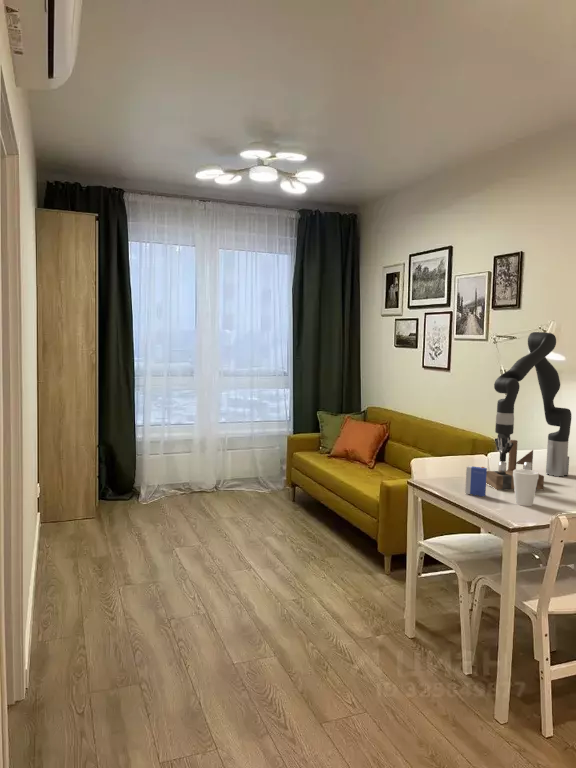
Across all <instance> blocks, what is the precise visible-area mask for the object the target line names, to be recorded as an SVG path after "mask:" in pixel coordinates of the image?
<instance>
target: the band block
mask: <svg viewBox="0 0 576 768" xmlns="http://www.w3.org/2000/svg"><path fill="white" fill-rule="evenodd" d="M544 481H545V476H544V475H543V474H540V473H539V478H538V481H537V486H536V489H543V490H544V487H545V486H544V485H545V484H544ZM486 483H487V484H489V485H491V486H492V487H494V488H495V489H514V478H513V471H507V470H506V475H500V474H498V470H487V475H486ZM492 487H491V488H492ZM494 488H493V489H494ZM495 489H494V490H495Z"/></svg>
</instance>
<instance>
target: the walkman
mask: <svg viewBox="0 0 576 768" xmlns="http://www.w3.org/2000/svg"><path fill="white" fill-rule="evenodd" d="M465 471H466V472H465V473H466V474H465V475H466V476H465V489H464V490H465V493H466V494H465V495H468V494H473V495H472V496H475V495H479V496H478V497H482V496H485V497H486V496H487V495H486V493H487V491H486V490H487V485H486V475H487V471H488V468H487V467H485V466H480V467H479V466H471V465H468V466H466V470H465Z"/></svg>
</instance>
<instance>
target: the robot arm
mask: <svg viewBox="0 0 576 768" xmlns="http://www.w3.org/2000/svg"><path fill="white" fill-rule="evenodd" d="M556 345H557V337H556V335H555V334H554V333H552V332H545V331H542V332H541V331H534V332H531V333H529V335H528V338H527V347H528V350H529V353H528V354H526V355H524V356H522V357H520V358H519V359H518V360H517V361H515V363H514V364H513V365H512V366H511V367H510V369H508V370H507V371H505V372H504V373H502V374H501V375H500V376H498V377H497V378H496V379H495V381H494V384H493V385H494V386H493V388H494V391H495V392H496V393H498V394H506V395H505V397H504V398H500V399H498V400H497V406H496V415H495V430H494V431H495V433H496V434H497V438H494V442H495V443H494V444H495V447H496V450H497V452H499V462H507V454H509V452H510V450H511V448H512V446H513V443H511V442H510V440H511V435H513V434H514V426H515V403H516V399H517V397H518V394H519V391H520V387H521V386H520V383H519V382H521V381H522V380H524V378H526V376H527V375H528V374H529V372H530V371H531V370H532V369H533V368H534V369H535V371H536V376H537V381H538V386H539V389H540V392H541V397H542V404H543V411H544V418H545V422H546V423H547V425H549V426H553V427H558V428H559V429H558V430H557V431H555V432H551V433H550V432H549V433H548V435H547V448H546V451H547V452H546V465H545V474H546V473H547V474H549V475H548V476H551V475H554V476H553V477H559V476H563V477H565V476H564V475H568V476H569V472H570V471H569V467H570V456H568V455H569V453H568V452H569V439H570V433H571V425H572V411H571V410H570V408H566V407H556V406H555V404H554V399H555V398H556V395H557V394H558V392H559V391H560V388H561V381H560V376H559V373H558V371H557V369H556V368H555V366H554V365H553V364H552V363H551V362H550V361H549V360H548V359H547V356H548V355H550V354H551V353H552V352H553V351H554V350H555V347H556ZM547 474H546V475H547Z"/></svg>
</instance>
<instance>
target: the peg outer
mask: <svg viewBox="0 0 576 768" xmlns="http://www.w3.org/2000/svg"><path fill="white" fill-rule="evenodd" d="M497 471H498V474H500V475H506V471H507V461H505V462H501V461H499V462H498V470H497Z"/></svg>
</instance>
